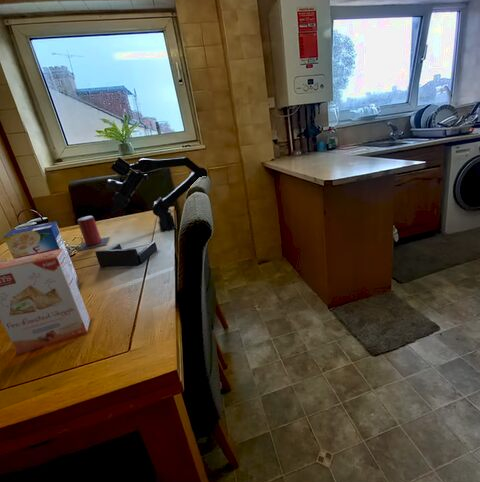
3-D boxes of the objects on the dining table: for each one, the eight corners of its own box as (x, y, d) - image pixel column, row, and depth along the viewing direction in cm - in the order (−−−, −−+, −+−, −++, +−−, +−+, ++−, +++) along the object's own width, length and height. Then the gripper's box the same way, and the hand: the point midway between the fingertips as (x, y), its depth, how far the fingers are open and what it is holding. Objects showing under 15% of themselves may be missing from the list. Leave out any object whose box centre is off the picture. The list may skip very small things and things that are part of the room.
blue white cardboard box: (77, 293, 86) (51, 227, 78) (35, 305, 82) (2, 236, 74) (80, 283, 92) (56, 221, 84) (41, 294, 88) (11, 230, 80)
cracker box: (17, 356, 62) (-27, 275, 55) (27, 339, 67) (-12, 263, 60) (88, 334, 67) (56, 256, 60) (91, 320, 72) (62, 246, 65)
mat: (109, 237, 134) (108, 237, 134) (105, 245, 124) (105, 244, 124) (83, 242, 131) (83, 242, 131) (77, 251, 121) (77, 250, 121)
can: (104, 241, 128) (96, 216, 124) (91, 247, 123) (82, 220, 119) (96, 240, 132) (88, 215, 127) (83, 245, 126) (73, 219, 122)
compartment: (120, 253, 113) (115, 237, 111) (158, 251, 111) (153, 235, 108) (99, 269, 101) (93, 251, 99) (140, 267, 99) (135, 249, 96)
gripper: (117, 170, 130) (98, 197, 131) (111, 174, 114) (90, 205, 114) (139, 183, 135) (121, 209, 136) (137, 190, 119) (116, 219, 119)
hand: (112, 211), depth 126 cm, fingers open, 9 cm apart
